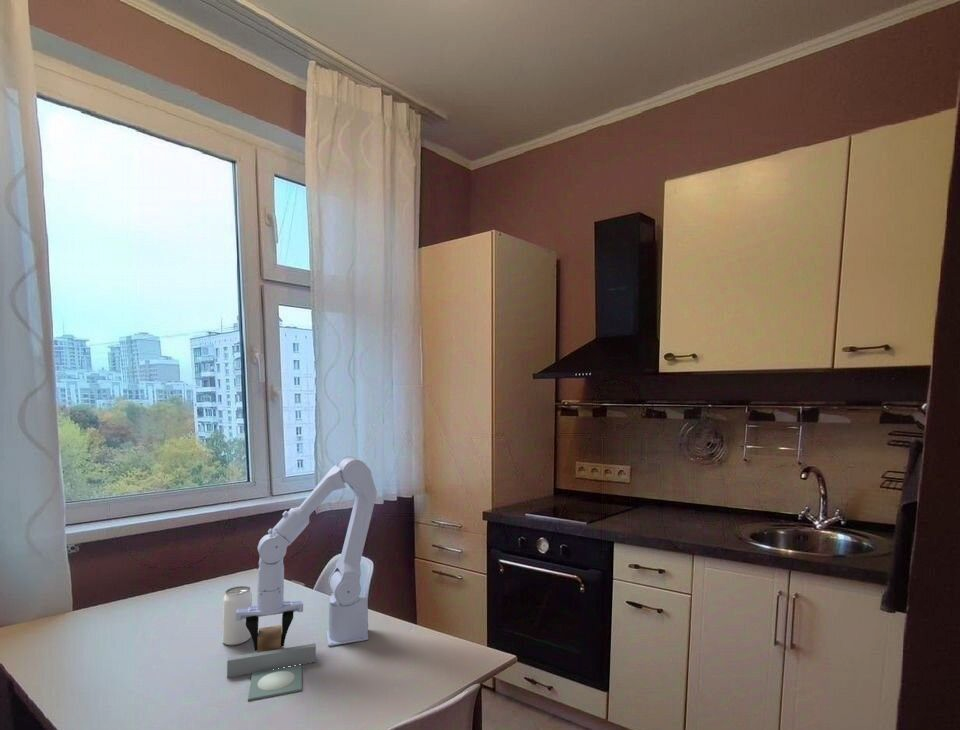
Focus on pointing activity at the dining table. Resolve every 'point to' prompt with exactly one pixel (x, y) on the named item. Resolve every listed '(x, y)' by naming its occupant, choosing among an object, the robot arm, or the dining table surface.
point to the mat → (275, 682)
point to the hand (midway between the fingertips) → (269, 646)
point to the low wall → (270, 660)
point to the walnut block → (269, 638)
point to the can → (234, 629)
